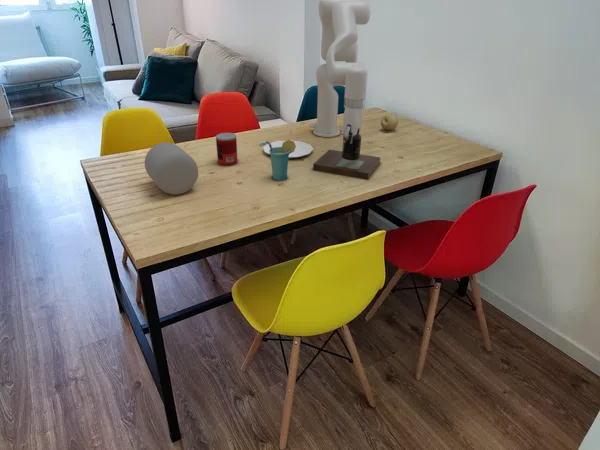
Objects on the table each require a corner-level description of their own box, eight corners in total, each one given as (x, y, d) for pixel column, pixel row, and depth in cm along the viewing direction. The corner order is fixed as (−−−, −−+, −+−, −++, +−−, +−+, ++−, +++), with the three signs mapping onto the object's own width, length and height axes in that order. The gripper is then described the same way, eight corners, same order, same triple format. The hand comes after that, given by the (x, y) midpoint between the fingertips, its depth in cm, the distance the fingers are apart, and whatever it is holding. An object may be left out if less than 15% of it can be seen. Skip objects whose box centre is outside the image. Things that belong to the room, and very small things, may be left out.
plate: (284, 164, 178) (284, 160, 177) (253, 150, 192) (253, 147, 191) (322, 153, 190) (322, 149, 190) (291, 140, 204) (291, 137, 203)
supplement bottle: (360, 161, 169) (363, 130, 163) (342, 160, 169) (344, 129, 163) (358, 154, 175) (361, 124, 169) (341, 154, 175) (343, 124, 169)
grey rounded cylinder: (136, 190, 145) (127, 154, 163) (171, 213, 155) (158, 177, 173) (177, 150, 142) (163, 118, 160) (209, 175, 152) (193, 143, 170)
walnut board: (313, 169, 174) (313, 163, 173) (328, 154, 189) (329, 148, 187) (368, 179, 167) (368, 172, 165) (380, 163, 181) (380, 156, 180)
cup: (266, 185, 161) (265, 145, 153) (256, 178, 166) (254, 139, 159) (299, 177, 167) (299, 139, 160) (288, 171, 173) (288, 133, 165)
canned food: (241, 160, 182) (239, 134, 176) (230, 167, 175) (228, 140, 170) (225, 157, 184) (223, 131, 179) (214, 164, 178) (211, 137, 173)
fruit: (378, 128, 222) (379, 112, 218) (394, 128, 223) (396, 111, 219) (382, 133, 215) (384, 116, 211) (399, 132, 216) (401, 116, 212)
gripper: (351, 96, 170) (348, 141, 179) (336, 107, 156) (334, 155, 165) (371, 98, 168) (367, 144, 176) (357, 109, 154) (353, 159, 162)
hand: (351, 149), depth 171 cm, fingers closed on supplement bottle, 6 cm apart
